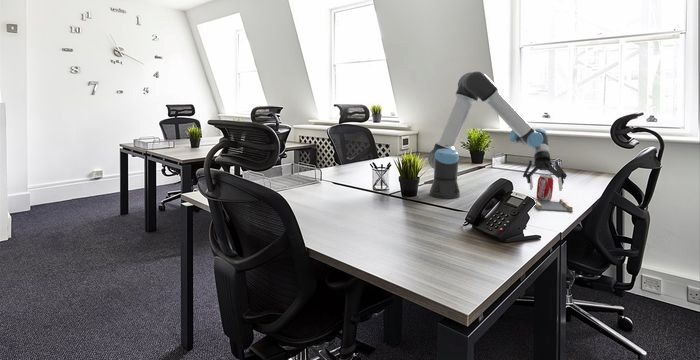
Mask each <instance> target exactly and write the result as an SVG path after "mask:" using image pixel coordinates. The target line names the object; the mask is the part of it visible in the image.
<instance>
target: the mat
mask: <svg viewBox="0 0 700 360" xmlns="http://www.w3.org/2000/svg"><path fill="white" fill-rule="evenodd" d="M537 201H538V202H539V203H540V204H541V205H542V209H538V207H537V206H536V205H535V206H534V208H536V210H538V211H546V212H547V211H548V212H550V211H552V212H567V213H573V210H572V211H569V210H568V209H567V208H566V207H565V206H563V205H562V204H561V203H560V202H559V201H551V200H549V201H541V200H537Z"/></svg>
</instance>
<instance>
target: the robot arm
mask: <svg viewBox="0 0 700 360" xmlns="http://www.w3.org/2000/svg"><path fill="white" fill-rule="evenodd" d="M455 97H456V100H455V102H454V105H453V107H452V108H451V112H450V114H449V117H448V119H447V122H446V125H445V127H444V128H443V131H442V134H441V137H440V139H439V141H436V142H435V144H434V146H433V148H432V149H431V151H430V152H429V153H428V157H427V159H428V163H429V165H430V167H431V169H433V170H434V171H433V181H432V184H431V187H430V190H429V196H431V197H434V198H438V199H457V198H459V197H460V196H461V195H460V194H461V191H460V187H459V183H458V172H459V171H458V170H459V160H460V155H459V152H458V151H457V149H456V146H457V145H456V144H457V142H458V140H459V137H460V134H461V132H462V130H463V128H464V125H465V123H466V121H467V118H468V115H469V114H470V112H471V109H472V106H473V105H474V104H475V103H477V102H478V99H480V100H481V102H484V103H487V105H488V106H489V107H490V108H491V109H492V110H493V111H494V112H495V113H496V114H497V115H498V116H499V117H500V118H501V119H502V121H503V122H505V124H506V125H507V126H508V127H509V128H510V129H511V131H510V133H509V141H510V142H513V143H516V144H521V145H525V146H529V147H530V148H532V149H533V159H534V161H532V160H529V161H528V164H527V167H526V169H525V170H524V172H523V175H522V177H523V178H526V182H527V184H529V190H531V191H532V190H533V188H534V183H533V175H534V174H535V173H536V172H537V171H538V170H539V171H548V172H549V173H551V174H553V175H554V176H555V177H556V178H558V180H557V183H558V189H559V190H558V191H559V192H562V191H563V189H564V188H563V185H564V184H565V181H564V180H565V179H566V178H567V177H568V174H567V173H565V170H563V169H562V167H561V166H560V165H559V162H558V161H555V162H554V161H553V162H552V161H551V153H550V147H549V139H548V138H549V137H548V133H547V131H546V130H545V128H535V129H534V128H533V127H532V125H531V124H530V123H529V122H528V121H527V120H526V119H525V117H523V116H522V115H521V114H520V113H519V112H518V110H517V109H516V108H515V107H514V106H513V105H512V104H511V103H510V102H509V101H508V100H507V99H506V98H505V97H504V95H502V93H501V92H499V87H498V86H497V85H496V83H495V82H493V81H492V80H491V78H490V77H489V76H488V75H486V73H484V72H482V71H471V72H470V71H469V72H467V73H465V74H463V75H462V76H461V77H460V79H459V80H458V81H457V90H456V92H455ZM533 165H534V168H533V169H532V170H531V171H530V169H531V167H532V166H533ZM529 171H530V172H529ZM566 180H567V179H566Z"/></svg>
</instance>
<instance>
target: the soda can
mask: <svg viewBox="0 0 700 360" xmlns="http://www.w3.org/2000/svg"><path fill="white" fill-rule="evenodd" d="M553 189H554V178H553V175H549V174H540V175H539V177H538V179H537V185H536V200H537V199H538V200H537V201H541V200H542V201H551V200H552V198H553V192H554V191H553Z"/></svg>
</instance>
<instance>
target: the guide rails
mask: <svg viewBox="0 0 700 360" xmlns="http://www.w3.org/2000/svg"><path fill="white" fill-rule="evenodd" d="M532 198H533V199H534V200H535V201H536V206H537V207H538V209H542V205H541V204H540V203H539V202H538V201H539V200H537V198H535V197H532ZM558 202H560V203H561V204H562V205H563V206H565V207H566V208H567V209H568V210H569V211H573V206H572V205H570V203H568V202H567V201H566V200H564V199H563V198H559V201H558ZM538 209H537V210H538Z"/></svg>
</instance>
